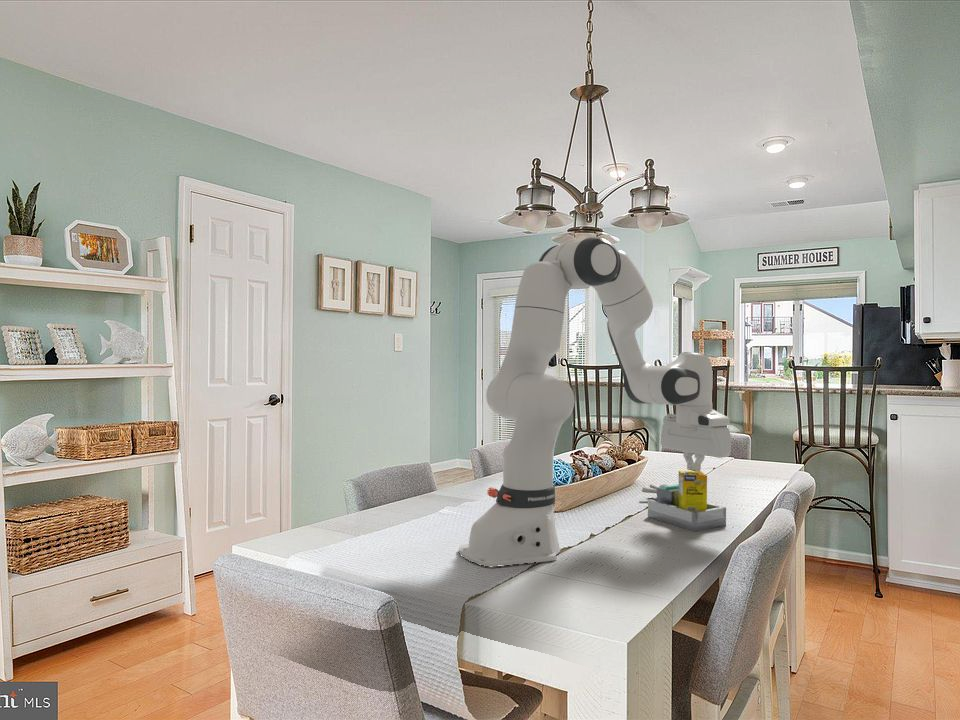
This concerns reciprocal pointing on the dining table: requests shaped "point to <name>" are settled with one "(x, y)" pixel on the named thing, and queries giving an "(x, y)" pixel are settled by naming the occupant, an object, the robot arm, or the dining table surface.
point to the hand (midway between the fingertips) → (693, 470)
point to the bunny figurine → (654, 488)
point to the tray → (684, 511)
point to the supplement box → (692, 490)
